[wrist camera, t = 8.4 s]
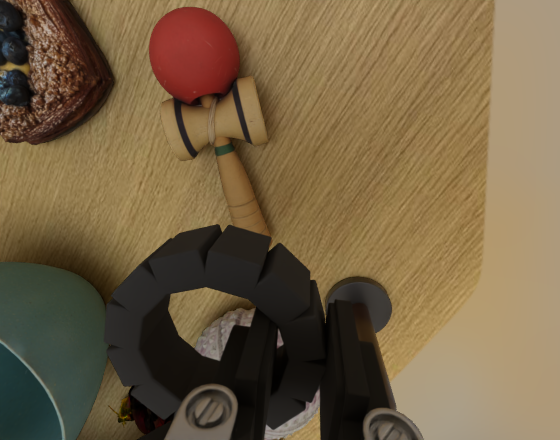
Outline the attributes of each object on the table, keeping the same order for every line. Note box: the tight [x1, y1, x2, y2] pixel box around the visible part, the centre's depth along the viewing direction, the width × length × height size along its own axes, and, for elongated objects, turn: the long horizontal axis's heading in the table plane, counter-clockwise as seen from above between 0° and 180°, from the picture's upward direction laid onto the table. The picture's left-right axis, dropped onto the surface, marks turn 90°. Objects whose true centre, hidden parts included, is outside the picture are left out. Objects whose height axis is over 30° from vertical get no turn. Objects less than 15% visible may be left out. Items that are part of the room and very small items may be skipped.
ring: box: [104, 224, 327, 430], centre depth 11 cm, size 7×7×2 cm
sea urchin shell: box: [194, 307, 320, 440], centre depth 29 cm, size 13×14×8 cm
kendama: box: [149, 7, 272, 247], centre depth 24 cm, size 8×6×18 cm
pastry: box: [0, 0, 114, 145], centre depth 23 cm, size 11×12×6 cm
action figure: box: [108, 385, 175, 434], centre depth 30 cm, size 15×6×20 cm
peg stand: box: [325, 277, 396, 410], centre depth 24 cm, size 6×6×12 cm
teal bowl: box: [0, 262, 109, 440], centre depth 27 cm, size 18×18×12 cm
